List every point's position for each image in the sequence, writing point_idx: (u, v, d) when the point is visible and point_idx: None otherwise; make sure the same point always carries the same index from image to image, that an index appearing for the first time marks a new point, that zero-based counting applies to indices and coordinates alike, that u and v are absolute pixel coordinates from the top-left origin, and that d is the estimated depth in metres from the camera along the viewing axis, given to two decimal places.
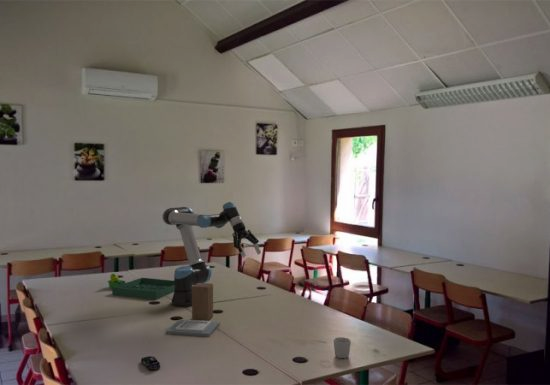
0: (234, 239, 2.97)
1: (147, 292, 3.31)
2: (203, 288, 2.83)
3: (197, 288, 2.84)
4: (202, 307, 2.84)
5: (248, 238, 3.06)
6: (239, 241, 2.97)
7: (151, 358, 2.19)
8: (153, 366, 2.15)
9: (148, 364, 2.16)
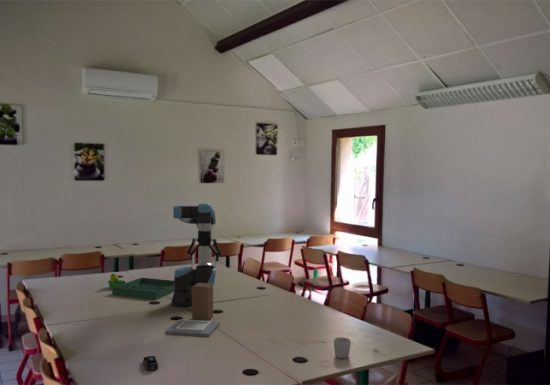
0: None
1: (147, 292, 3.31)
2: (203, 288, 2.83)
3: (197, 288, 2.84)
4: (202, 307, 2.84)
5: None
6: (193, 250, 2.87)
7: (150, 358, 2.19)
8: (151, 366, 2.15)
9: (146, 364, 2.16)
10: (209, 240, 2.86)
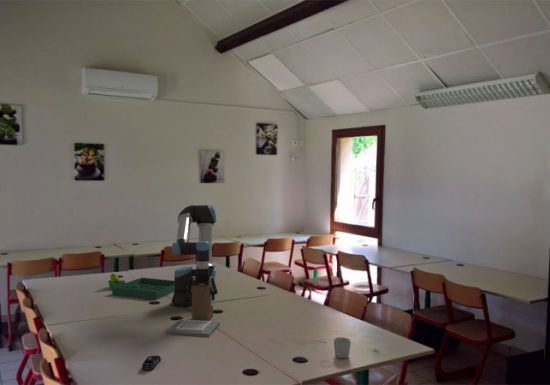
0: None
1: (147, 292, 3.31)
2: (203, 288, 2.83)
3: (197, 288, 2.84)
4: (202, 307, 2.84)
5: None
6: None
7: (149, 358, 2.19)
8: (145, 366, 2.15)
9: (143, 363, 2.18)
10: (207, 278, 2.87)
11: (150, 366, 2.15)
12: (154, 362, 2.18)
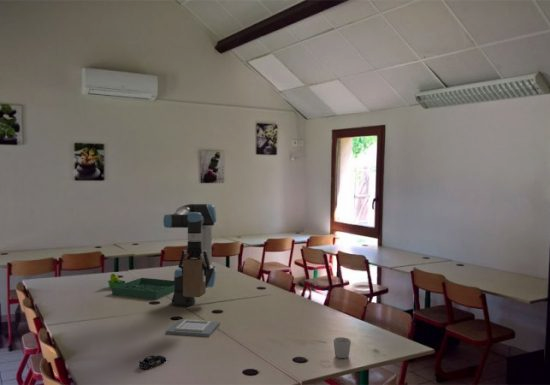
0: None
1: (147, 292, 3.31)
2: (195, 262, 2.65)
3: (188, 262, 2.65)
4: (194, 282, 2.65)
5: None
6: None
7: (149, 357, 2.20)
8: (140, 364, 2.17)
9: None
10: (199, 251, 2.68)
11: (144, 365, 2.16)
12: (151, 362, 2.18)
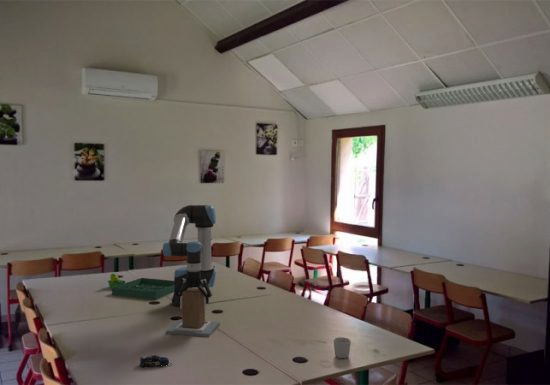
0: None
1: (147, 292, 3.31)
2: (194, 294, 2.64)
3: (188, 294, 2.65)
4: (193, 314, 2.65)
5: None
6: (181, 291, 2.69)
7: (150, 356, 2.21)
8: (140, 361, 2.21)
9: None
10: (198, 281, 2.68)
11: (140, 363, 2.19)
12: (148, 362, 2.19)
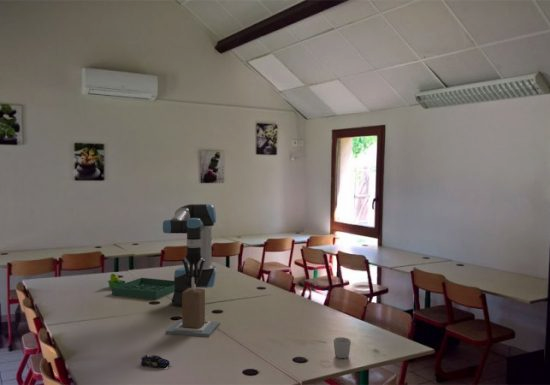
0: None
1: (147, 292, 3.30)
2: (194, 294, 2.64)
3: (188, 294, 2.65)
4: (193, 314, 2.65)
5: None
6: (189, 271, 2.68)
7: (152, 356, 2.22)
8: None
9: None
10: (198, 258, 2.67)
11: None
12: (147, 361, 2.20)
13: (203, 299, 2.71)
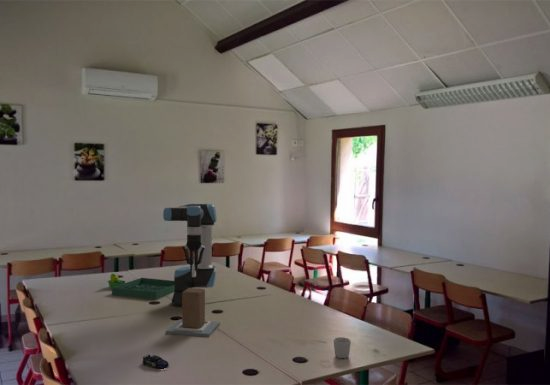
0: None
1: (147, 292, 3.30)
2: (194, 294, 2.64)
3: (188, 294, 2.65)
4: (193, 314, 2.65)
5: None
6: (190, 259, 2.71)
7: (153, 356, 2.22)
8: None
9: None
10: (199, 245, 2.70)
11: None
12: (147, 360, 2.20)
13: (203, 299, 2.71)
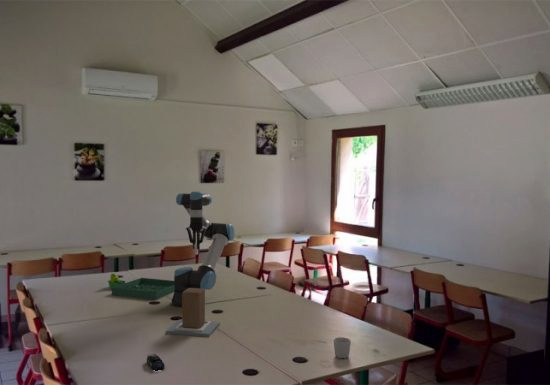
0: None
1: (147, 292, 3.30)
2: (194, 294, 2.64)
3: (188, 294, 2.65)
4: (193, 314, 2.65)
5: None
6: None
7: (154, 356, 2.22)
8: None
9: None
10: (200, 226, 3.05)
11: None
12: (148, 359, 2.21)
13: (203, 299, 2.71)
